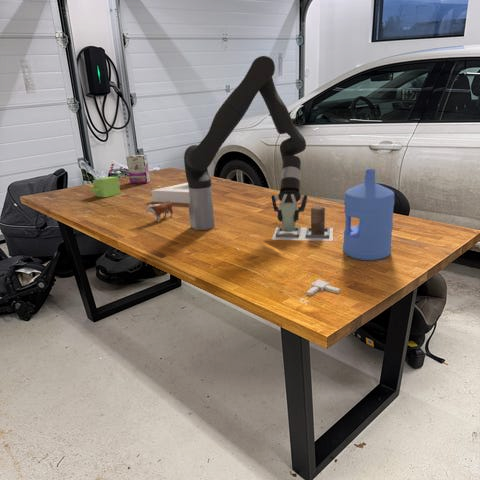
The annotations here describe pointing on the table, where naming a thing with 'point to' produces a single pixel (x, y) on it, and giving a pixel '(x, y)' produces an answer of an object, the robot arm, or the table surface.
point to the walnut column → (318, 220)
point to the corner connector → (322, 285)
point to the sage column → (288, 216)
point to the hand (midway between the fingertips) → (287, 220)
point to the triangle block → (172, 194)
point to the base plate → (302, 234)
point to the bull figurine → (160, 209)
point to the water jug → (368, 220)
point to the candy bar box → (138, 169)
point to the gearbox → (106, 186)
